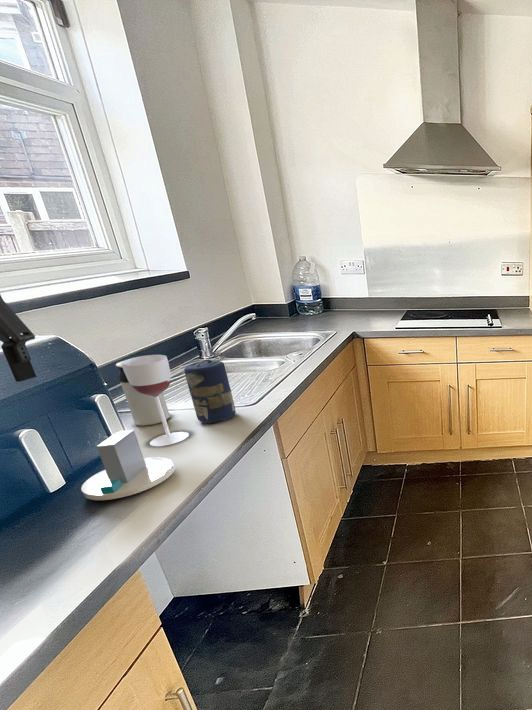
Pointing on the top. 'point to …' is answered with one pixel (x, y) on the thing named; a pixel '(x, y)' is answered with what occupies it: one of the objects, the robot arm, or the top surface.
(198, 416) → the canister
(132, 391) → the travel mug
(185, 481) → the top surface
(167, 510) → the top surface
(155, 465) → the plate
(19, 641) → the top surface
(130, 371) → the wineglass
